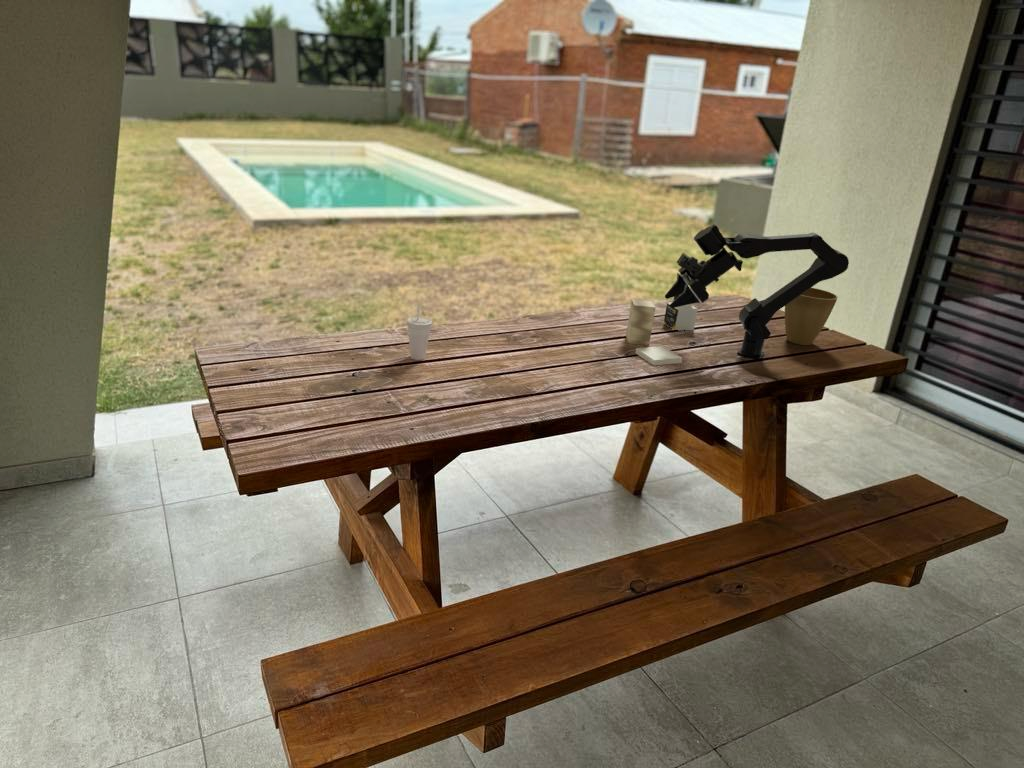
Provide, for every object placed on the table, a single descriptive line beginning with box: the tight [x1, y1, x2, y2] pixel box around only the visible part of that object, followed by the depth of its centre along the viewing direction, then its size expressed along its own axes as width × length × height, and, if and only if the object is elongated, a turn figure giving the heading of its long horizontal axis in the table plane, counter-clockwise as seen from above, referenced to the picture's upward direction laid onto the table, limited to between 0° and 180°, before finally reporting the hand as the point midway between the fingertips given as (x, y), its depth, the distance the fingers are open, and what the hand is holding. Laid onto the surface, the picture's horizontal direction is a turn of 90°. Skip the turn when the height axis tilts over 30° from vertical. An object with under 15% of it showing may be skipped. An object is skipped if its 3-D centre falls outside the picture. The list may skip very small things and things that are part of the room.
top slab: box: [635, 346, 683, 366], centre depth 201 cm, size 9×9×2 cm
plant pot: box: [784, 287, 838, 346], centre depth 228 cm, size 15×15×16 cm
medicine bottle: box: [663, 295, 699, 332], centre depth 231 cm, size 7×7×12 cm
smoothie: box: [406, 302, 433, 361], centre depth 185 cm, size 6×6×14 cm
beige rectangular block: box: [625, 298, 657, 346], centre depth 212 cm, size 6×6×12 cm
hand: (668, 302), depth 210 cm, fingers open, 9 cm apart
